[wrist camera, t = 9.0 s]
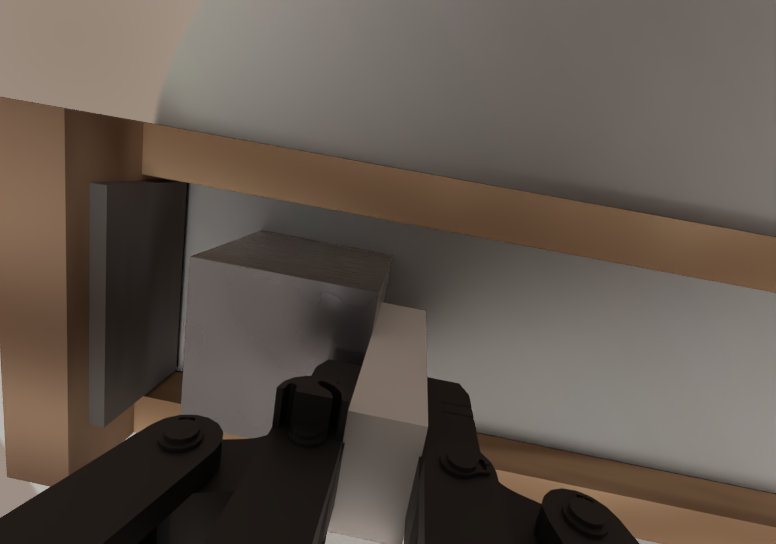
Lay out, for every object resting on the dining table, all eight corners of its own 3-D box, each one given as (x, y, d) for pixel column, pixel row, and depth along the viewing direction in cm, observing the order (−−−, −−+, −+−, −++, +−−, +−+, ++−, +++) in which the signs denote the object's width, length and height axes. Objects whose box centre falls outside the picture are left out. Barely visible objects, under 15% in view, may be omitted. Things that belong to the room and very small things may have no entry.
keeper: (261, 230, 16) (189, 256, 11) (392, 255, 16) (379, 292, 11) (249, 352, 17) (179, 424, 12) (370, 376, 17) (349, 459, 12)
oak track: (125, 118, 15) (-14, 94, 10) (897, 259, 14) (1142, 305, 9) (119, 394, 18) (7, 476, 13) (766, 528, 17) (903, 672, 12)
